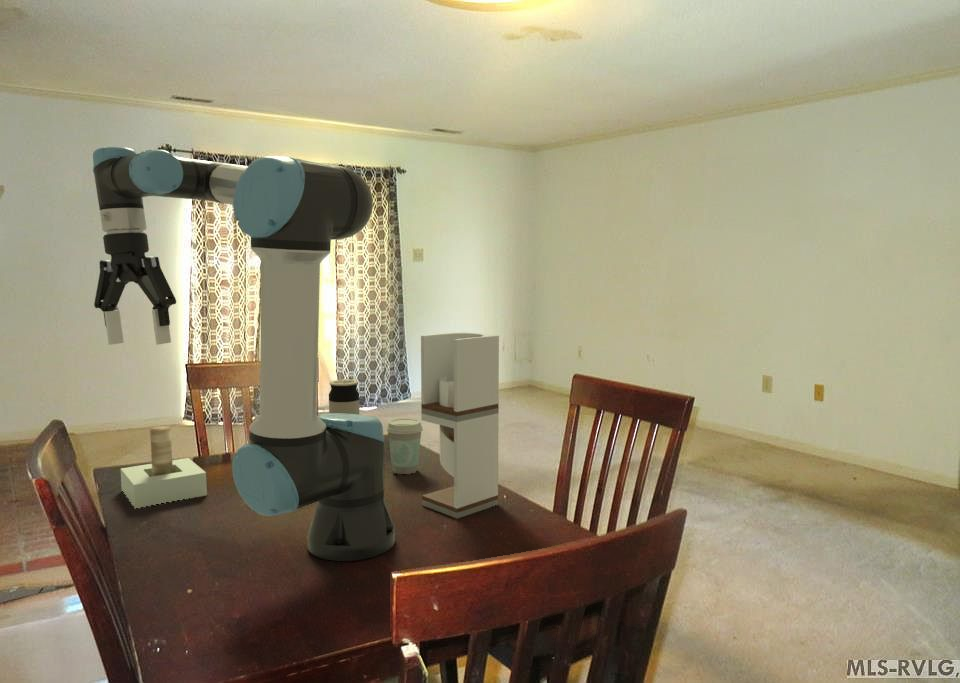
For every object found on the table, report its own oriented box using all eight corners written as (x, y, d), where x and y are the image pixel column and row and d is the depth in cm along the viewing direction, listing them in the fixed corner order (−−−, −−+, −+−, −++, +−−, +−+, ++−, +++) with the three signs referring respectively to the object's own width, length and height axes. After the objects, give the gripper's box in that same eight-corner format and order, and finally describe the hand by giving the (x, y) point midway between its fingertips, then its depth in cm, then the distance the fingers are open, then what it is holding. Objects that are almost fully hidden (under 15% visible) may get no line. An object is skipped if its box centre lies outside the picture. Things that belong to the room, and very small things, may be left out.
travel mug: (365, 448, 187) (363, 382, 185) (337, 453, 182) (335, 385, 180) (352, 442, 193) (351, 378, 191) (325, 446, 188) (323, 381, 186)
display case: (462, 492, 151) (462, 331, 147) (498, 504, 143) (498, 335, 140) (422, 505, 143) (420, 335, 139) (457, 518, 135) (456, 339, 132)
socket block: (206, 495, 149) (205, 472, 148) (135, 509, 140) (133, 484, 140) (189, 479, 160) (188, 457, 159) (121, 490, 151) (120, 468, 151)
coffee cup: (379, 472, 165) (378, 422, 164) (403, 464, 172) (402, 416, 171) (406, 478, 161) (406, 427, 159) (430, 469, 168) (429, 420, 166)
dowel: (177, 491, 151) (174, 427, 149) (161, 496, 147) (158, 431, 146) (165, 487, 153) (162, 425, 151) (149, 493, 149) (145, 429, 147)
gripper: (64, 237, 134) (79, 346, 137) (152, 227, 123) (167, 346, 126) (100, 237, 141) (114, 341, 144) (187, 227, 130) (201, 340, 132)
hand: (139, 343), depth 135 cm, fingers open, 13 cm apart
